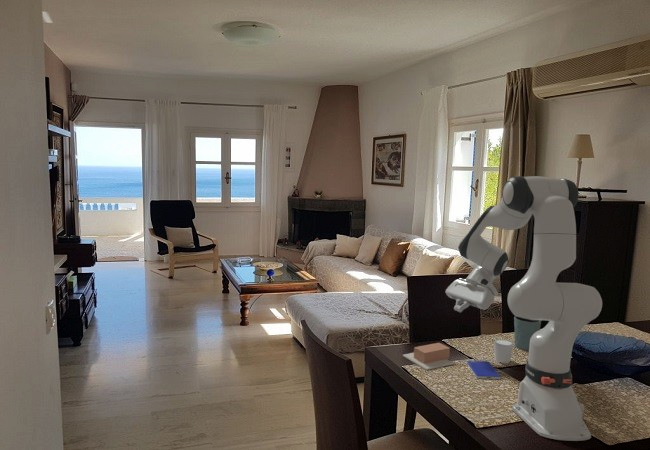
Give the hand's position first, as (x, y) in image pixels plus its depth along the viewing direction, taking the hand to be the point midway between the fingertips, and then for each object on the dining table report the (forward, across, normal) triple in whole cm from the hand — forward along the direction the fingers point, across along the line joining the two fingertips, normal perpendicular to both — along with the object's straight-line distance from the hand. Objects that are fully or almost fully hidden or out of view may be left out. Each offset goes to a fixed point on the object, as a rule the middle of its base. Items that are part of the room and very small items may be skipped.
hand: (457, 310), depth 180 cm
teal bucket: (-11, +6, +36) cm, 38 cm away
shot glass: (+3, +12, +22) cm, 25 cm away
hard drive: (+14, +16, +12) cm, 24 cm away
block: (+14, 0, +7) cm, 16 cm away
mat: (+21, 0, +3) cm, 22 cm away
